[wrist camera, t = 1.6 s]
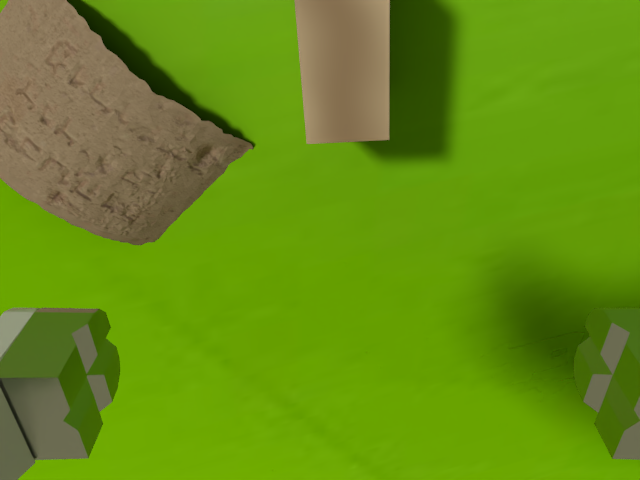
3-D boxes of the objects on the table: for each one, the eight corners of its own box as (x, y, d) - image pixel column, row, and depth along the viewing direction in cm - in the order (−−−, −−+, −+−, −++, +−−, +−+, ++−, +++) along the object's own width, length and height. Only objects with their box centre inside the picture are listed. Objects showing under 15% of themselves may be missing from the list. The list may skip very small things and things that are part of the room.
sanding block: (381, -59, 23) (389, -46, 19) (382, 100, 27) (389, 139, 23) (300, -53, 24) (291, -40, 20) (312, 104, 27) (306, 143, 23)
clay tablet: (265, 144, 29) (259, 165, 27) (161, 256, 34) (148, 282, 31) (15, -65, 24) (-19, -60, 22) (-70, 98, 29) (-105, 116, 26)
